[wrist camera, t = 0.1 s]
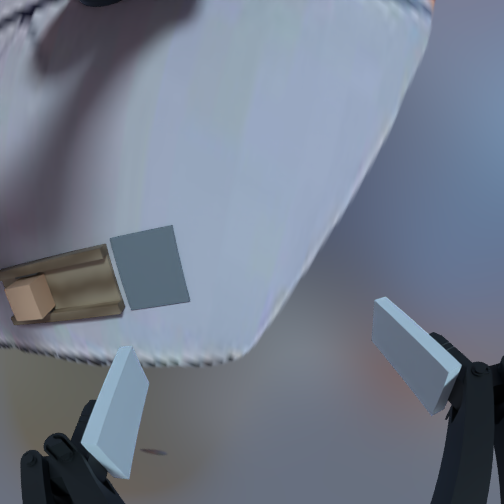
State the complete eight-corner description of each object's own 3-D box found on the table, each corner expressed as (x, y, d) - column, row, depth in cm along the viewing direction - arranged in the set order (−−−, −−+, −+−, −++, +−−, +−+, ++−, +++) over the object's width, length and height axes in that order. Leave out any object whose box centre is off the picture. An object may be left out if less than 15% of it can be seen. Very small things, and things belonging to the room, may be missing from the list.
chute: (1, 269, 37) (-7, 273, 35) (105, 243, 39) (99, 248, 36) (20, 319, 40) (14, 325, 38) (125, 306, 42) (120, 313, 40)
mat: (110, 238, 39) (109, 238, 38) (172, 225, 39) (171, 225, 39) (131, 309, 42) (131, 310, 42) (190, 300, 43) (189, 301, 43)
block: (18, 278, 37) (4, 289, 33) (44, 273, 38) (29, 284, 33) (30, 308, 39) (17, 321, 34) (55, 305, 40) (42, 318, 35)
